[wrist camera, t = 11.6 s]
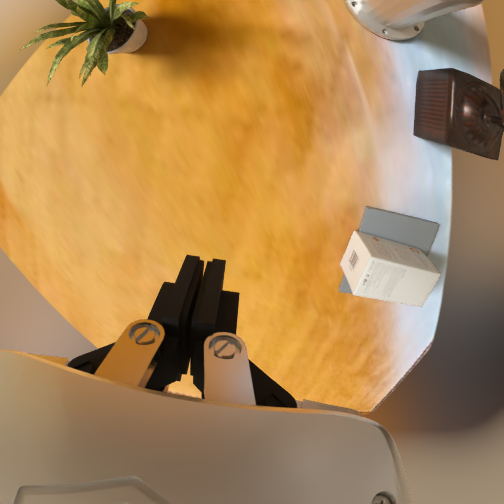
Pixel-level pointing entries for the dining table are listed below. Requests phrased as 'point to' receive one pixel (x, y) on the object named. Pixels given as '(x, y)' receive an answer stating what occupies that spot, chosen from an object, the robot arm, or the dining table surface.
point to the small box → (388, 270)
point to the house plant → (98, 32)
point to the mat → (395, 232)
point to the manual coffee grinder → (460, 111)
